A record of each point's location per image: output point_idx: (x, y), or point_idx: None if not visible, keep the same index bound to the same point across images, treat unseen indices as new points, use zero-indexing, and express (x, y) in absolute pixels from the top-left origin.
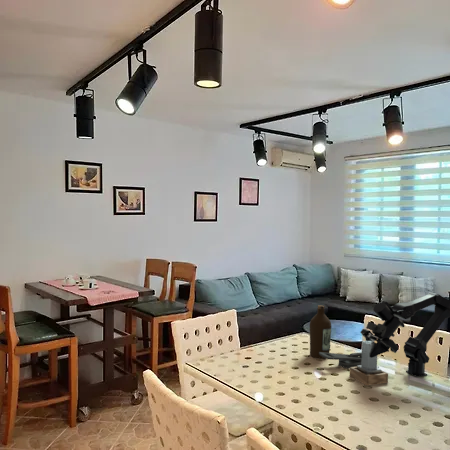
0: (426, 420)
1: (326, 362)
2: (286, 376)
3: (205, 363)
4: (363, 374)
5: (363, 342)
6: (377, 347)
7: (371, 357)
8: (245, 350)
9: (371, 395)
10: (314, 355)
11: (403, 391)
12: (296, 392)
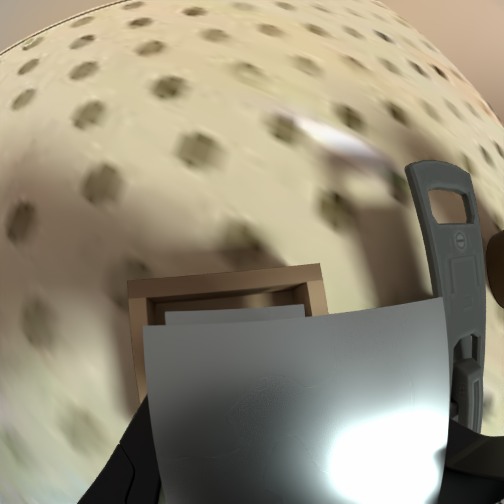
0: None
1: None
2: (315, 54)
3: (384, 11)
4: (167, 278)
5: (388, 308)
6: (97, 496)
7: None
8: (480, 99)
9: (44, 235)
10: (496, 235)
11: (47, 430)
12: (185, 31)
